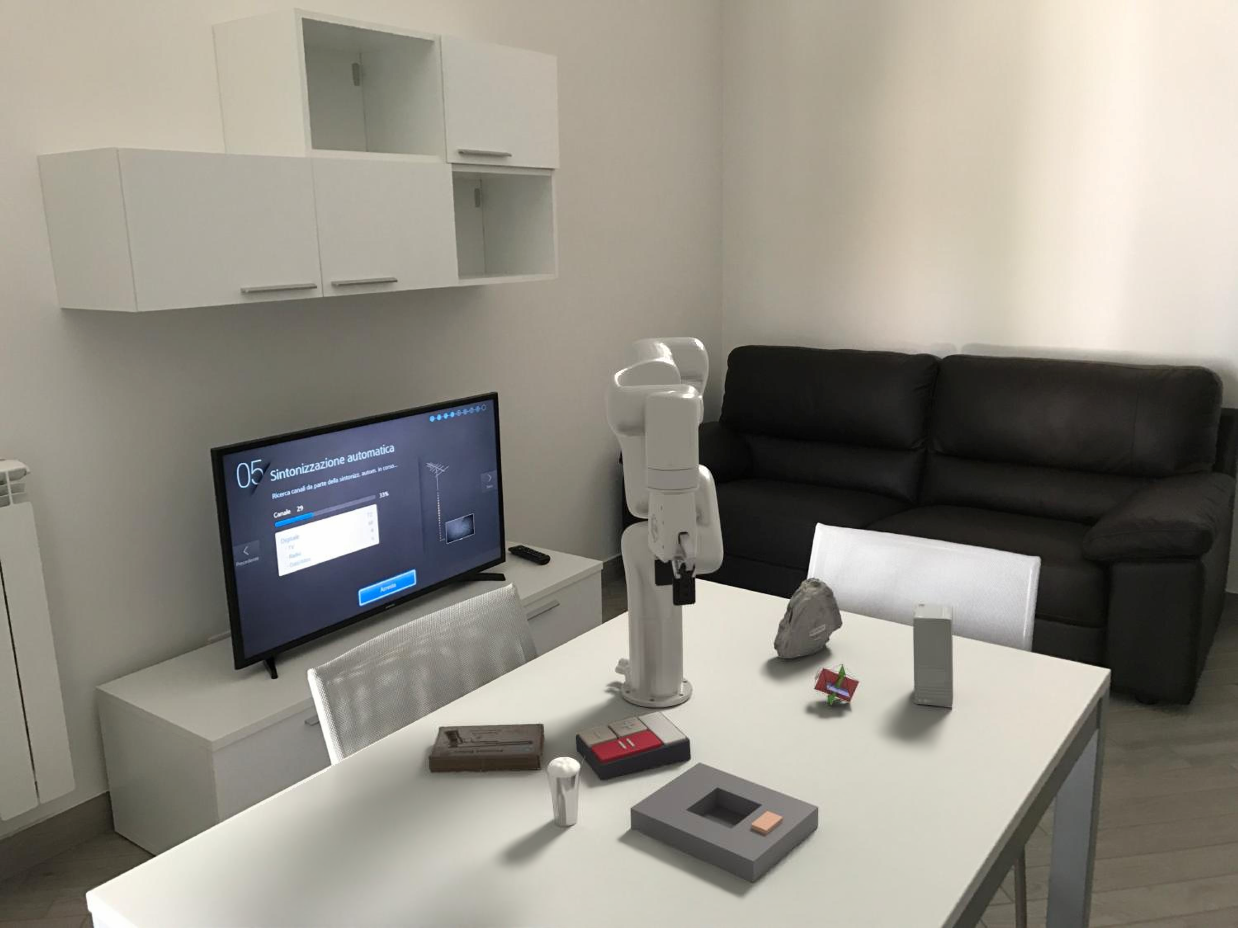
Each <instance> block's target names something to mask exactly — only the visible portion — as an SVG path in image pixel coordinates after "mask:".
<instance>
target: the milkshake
mask: <svg viewBox="0 0 1238 928" xmlns="http://www.w3.org/2000/svg"><path fill="white" fill-rule="evenodd" d="M584 758H585V757H584ZM582 759H583V758H582ZM584 761H585V760H584V759H583V760H582V762H581V764H580V763H579V761H578V760H576V759H575V758H572V757H569V756H563V757H562V756H561V757H560V756H559V757H556V758H554V759H552V760H551V761H550V762H549V764H548V765H547V768H546V769H547V771H546V772H547V776H548V777H547V778H548V782H549V788H550V794H551V803H552V812H553V819H554V823H555V824H556V825H557V826H559V827H570V826H574V825H575V824H576V823H577V822H578V811H579V789H580V775H581V767H582V765H583V762H584Z"/></svg>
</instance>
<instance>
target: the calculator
mask: <svg viewBox="0 0 1238 928" xmlns="http://www.w3.org/2000/svg"><path fill="white" fill-rule="evenodd" d="M575 748H576V751H577V753H578V754H579V755H580V757H582V759H584V760H583V761H584V762H585V763H587V765H588V766H589V768H591V770H592V771H593V772H594V774H596V776H597V777H598V778H599V779H600V780H601V781H602V782H605V781H608V780H615V779H618V778H621V777H626V776H629V775H634V774H637V773H641V772H645V771H648V770H652V769H655V768H658V767H661V766H671V765H674V764H679V763H683V762H688V761H691V759H692V754H691V752H692V751H691V741H690V738H689V737H688V736H687V735H686V734H685V733H683V732H682V730H680V729H679V728H678V727H677V726H676V725H675V724H674V723H673V722H671V720H669V718H667V717H666V715H664V714H663V713H662V712H660V711H655V712H651V713H648V714H644V715H640V716H638V717H636V716H634V717H629V718H626V719H622V720H621V719H620V720H618V721H614V722H610V723H609V725H606V724H604V725H599V726H596V727H592V728H588V729H584V730H581V731H579V732H578V733H577V734H575ZM584 757H585V758H584Z"/></svg>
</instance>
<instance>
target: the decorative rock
mask: <svg viewBox="0 0 1238 928" xmlns="http://www.w3.org/2000/svg"><path fill="white" fill-rule="evenodd" d="M842 626H843V620H842V615H841V611H840V608H839V605H838V603H837V598H836V597H835V595H834V590H833V589H832V588H831V587H829V585H828V584H827V583H826V582H824V581H823V580H821V579H819V578H816V577H809V578H807V579H805V580H803V581H802V582H801V583H800V586H799V588H798V589H796V591H795V592H794V593H793V595H792V596H791V597H790V598H789V601H788V603H787V605H786V611H785V613H784V614H783V618H781V620H779V623H778V629H777V633H776V636H775V639H774V641H773V649H774V650H775V651H776V654H777V656H778V657H779V658H780V659H781V658H785V659H794V658H797V657H803V656H807V655H809V656H810V655H814V654H816V652H818V651H820V650H821V649H822V648H823V647H824V646H825V645H826V644H827V643H829V642H830V640H831V639H830V637H831V635H832V634H833V633H834V632H835V631H837V630H839V629H841V628H842Z"/></svg>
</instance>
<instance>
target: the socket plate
mask: <svg viewBox="0 0 1238 928" xmlns="http://www.w3.org/2000/svg"><path fill="white" fill-rule="evenodd" d="M629 809H630V810H629V811H630V828H631V829H633V830H634V831H637V832H640V833H641V834H644V835H647V836H648V837H651V838H653V839H655V840H657V841H659V842H662V843H664V844H666V845H668V846H669V847H670V846H671V847H673V848H675V849H678V850H680V851H681V852H684V853H687V854H689V855H691V856H693V857H696V858H697V859H700V860H701V861H704V862H707V863H708V864H710V865H713V866H716V867H717V868H720V869H722V870H723V871H727V872H728V873H731V874H733V875H736V876H738V877H740V878H742V879H745V880H746V881H749V882H751V883H755V882H756V881H758V879H760V878H761V877H762V876H763V875H764V874H766V873H767V872H768V871H769V870H770V869H771V868H773V866H774V865H776V864H777V863H778V862H779V861H781V860H782V859H783V858H784V857H785V856H786V855H787V854H788V853H790V851H792V850H793V849H794V848H796V846H798V845H799V844H800V843H801V842H802V841H804V840H805V839H806V838H807V837H808V836H809V835H810V834H811V833H813V832H815V830H816V829H818V827H819V806H817V805H814V804H813V803H809V802H806V801H804V800H801V799H798V798H795V797H793V796H790V795H788V794H785V793H783V792H780V791H777V790H774V789H771V788H769V787H766V786H764V785H761V784H759V783H756V782H753V781H750V780H747V779H745V778H743V777H740V776H737V775H735V774H732V773H730V772H727V771H723V770H722V769H718V768H715V767H714V766H710V765H707V764H705V763H703V762H698V763H696V764H695V765H693V766H691V767H690V768H688V769H687V770H685V771H683V772H682V773H681V774H680V775H678V776H677V777H675V778H674V779H672V780H671V781H668V783H666V784H665V785H663V786H661V787H660V788H658V789H657V790H655V791H654V792H652V793H651V794H649V795H648V796H646V797H645V798H643V799H642V800H640V801H639V802H637V803H636V804H634V805H633V806H632V807H630V808H629Z"/></svg>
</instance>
